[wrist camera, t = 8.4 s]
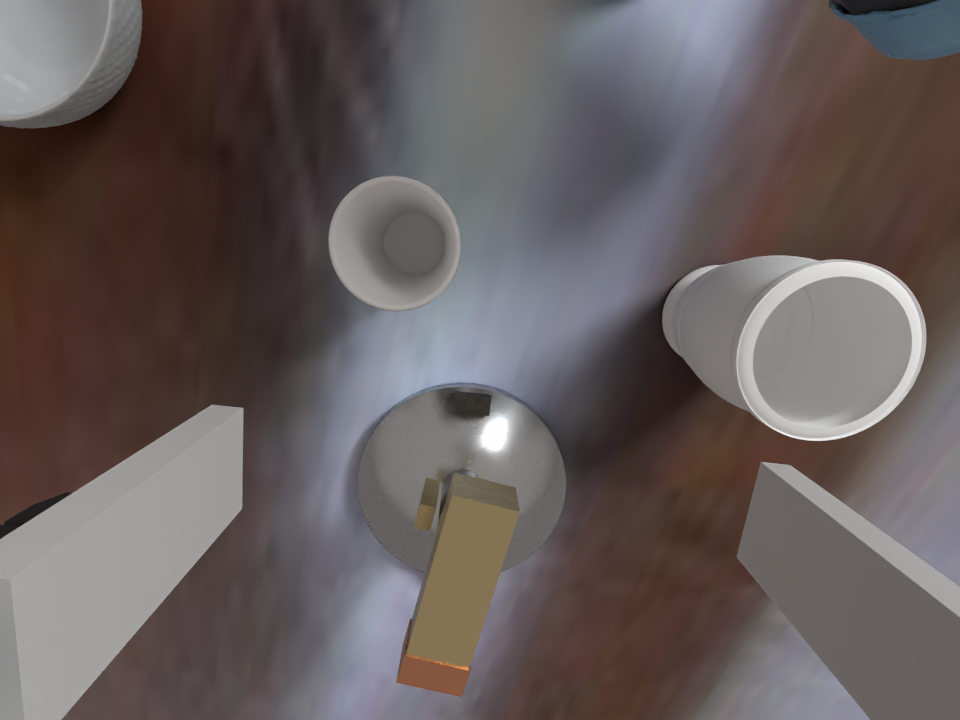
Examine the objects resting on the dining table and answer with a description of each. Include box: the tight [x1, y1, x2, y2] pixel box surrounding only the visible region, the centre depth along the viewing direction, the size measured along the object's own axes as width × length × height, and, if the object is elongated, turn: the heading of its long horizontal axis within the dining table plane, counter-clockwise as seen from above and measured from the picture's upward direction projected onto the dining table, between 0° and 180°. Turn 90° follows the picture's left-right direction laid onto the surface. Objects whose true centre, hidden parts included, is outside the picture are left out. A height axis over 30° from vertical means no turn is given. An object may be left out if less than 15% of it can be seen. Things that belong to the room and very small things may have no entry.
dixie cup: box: [328, 176, 461, 311], centre depth 36 cm, size 8×8×11 cm
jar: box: [662, 256, 926, 441], centre depth 36 cm, size 11×10×15 cm
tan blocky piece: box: [396, 472, 520, 697], centre depth 37 cm, size 7×13×13 cm, turn 164°
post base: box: [358, 383, 566, 573], centre depth 42 cm, size 18×18×8 cm
